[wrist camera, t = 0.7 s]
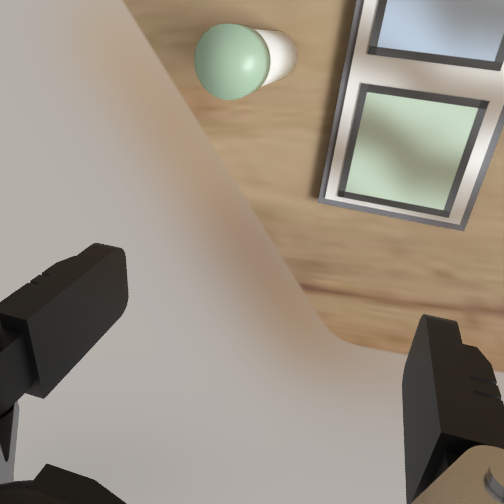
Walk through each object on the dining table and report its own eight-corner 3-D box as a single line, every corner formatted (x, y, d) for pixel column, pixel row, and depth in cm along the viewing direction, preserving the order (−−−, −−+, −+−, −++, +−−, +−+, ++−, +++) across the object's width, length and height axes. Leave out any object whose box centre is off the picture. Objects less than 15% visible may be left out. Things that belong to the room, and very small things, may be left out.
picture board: (380, -119, 25) (379, -125, 24) (586, -108, 23) (595, -114, 22) (319, 199, 35) (317, 203, 34) (462, 227, 33) (464, 232, 32)
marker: (254, 25, 30) (196, 19, 21) (303, 31, 30) (265, 27, 20) (249, 78, 32) (193, 94, 23) (295, 84, 31) (257, 104, 22)
